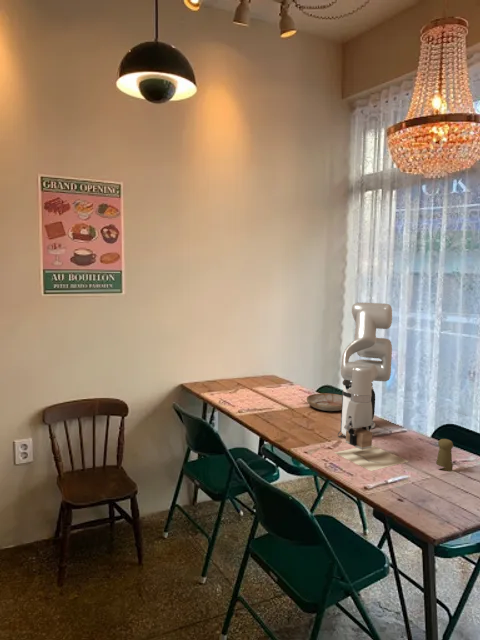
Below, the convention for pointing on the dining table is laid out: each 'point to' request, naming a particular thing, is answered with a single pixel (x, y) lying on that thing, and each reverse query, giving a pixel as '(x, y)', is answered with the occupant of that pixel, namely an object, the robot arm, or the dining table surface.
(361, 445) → the block
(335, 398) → the ceramic bowl
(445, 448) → the cork
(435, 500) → the dining table surface
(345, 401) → the coffee press
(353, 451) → the birch board
